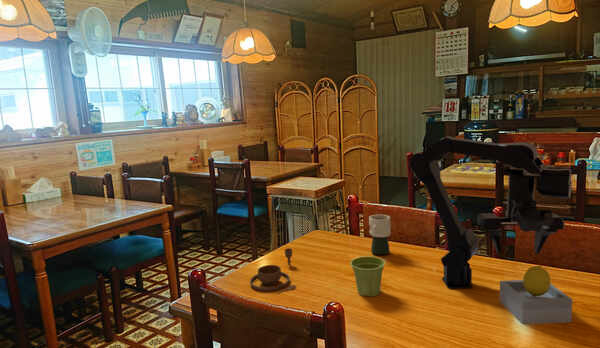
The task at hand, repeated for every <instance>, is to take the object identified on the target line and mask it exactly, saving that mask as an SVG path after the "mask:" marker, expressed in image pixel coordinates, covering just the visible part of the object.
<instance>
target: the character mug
mask: <svg viewBox="0 0 600 348" xmlns="http://www.w3.org/2000/svg"><path fill="white" fill-rule="evenodd" d="M368 220H369V221H368V224H369V231H368V233H369V235H370V236H372V241H371V249H370V250H371V253H372V254H376V255H377V254H378V255H386V254H389V253H390V244H389V239H388V237H389V236H390V235H391V217H390V215H387V214H372V215H370V216H368Z"/></svg>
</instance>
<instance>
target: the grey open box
mask: <svg viewBox="0 0 600 348" xmlns="http://www.w3.org/2000/svg"><path fill="white" fill-rule="evenodd" d="M499 302H500V304H502V306H504V308H506V310H507V311H508V312H509V313H510V314H511V315H512V316H513V317H514V318H515V319H516V320H517V321H518V322H519V323H520V324H521V325H533V324H534V325H536V324H537V325H538V324H560V323H572V316H573V314H572V313H573V312H572V311H573V310H572V309H573V298H572V297H570V296H568V295H567V294H566V293H565V292H563V291H562V290H560V289H559V288H557V287H556V286H554V285H553V284H552V283H551V282H550V288H549V290H548V291H547V292H546V293H545V294H544V295H541V296H536V297H533V296H532V295H531V294H530V293H528V292H527V291H526V289H525V288H524V285H523V279H514V280H500V281H499Z"/></svg>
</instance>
